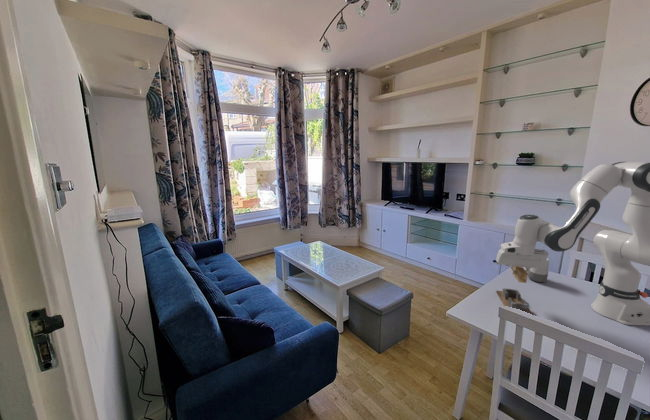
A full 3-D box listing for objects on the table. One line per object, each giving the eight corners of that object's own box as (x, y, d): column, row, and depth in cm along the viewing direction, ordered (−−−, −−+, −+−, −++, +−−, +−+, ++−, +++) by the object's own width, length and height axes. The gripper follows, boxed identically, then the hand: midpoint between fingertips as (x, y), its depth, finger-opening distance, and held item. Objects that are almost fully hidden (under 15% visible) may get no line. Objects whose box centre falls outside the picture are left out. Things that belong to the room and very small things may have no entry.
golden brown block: (517, 272, 137) (519, 263, 136) (526, 283, 127) (527, 273, 126) (510, 271, 138) (512, 262, 137) (518, 282, 128) (520, 272, 127)
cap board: (517, 294, 145) (518, 287, 144) (533, 317, 126) (534, 309, 125) (496, 292, 148) (497, 284, 146) (508, 314, 129) (510, 306, 128)
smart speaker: (530, 274, 165) (534, 253, 162) (548, 280, 158) (553, 258, 154) (524, 279, 160) (528, 257, 156) (543, 285, 153) (547, 263, 149)
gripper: (545, 247, 129) (540, 273, 133) (497, 243, 135) (493, 268, 138) (552, 252, 123) (546, 279, 127) (501, 248, 129) (497, 274, 132)
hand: (518, 273), depth 133 cm, fingers closed on golden brown block, 3 cm apart
